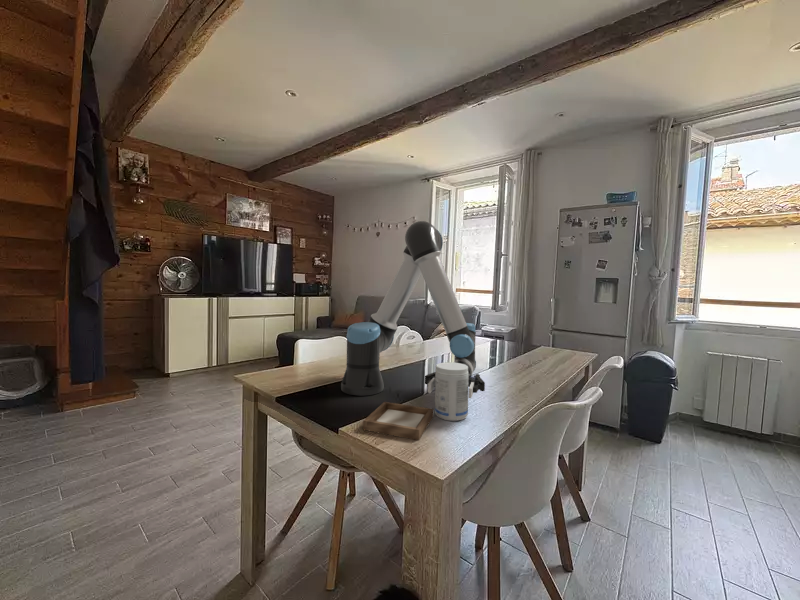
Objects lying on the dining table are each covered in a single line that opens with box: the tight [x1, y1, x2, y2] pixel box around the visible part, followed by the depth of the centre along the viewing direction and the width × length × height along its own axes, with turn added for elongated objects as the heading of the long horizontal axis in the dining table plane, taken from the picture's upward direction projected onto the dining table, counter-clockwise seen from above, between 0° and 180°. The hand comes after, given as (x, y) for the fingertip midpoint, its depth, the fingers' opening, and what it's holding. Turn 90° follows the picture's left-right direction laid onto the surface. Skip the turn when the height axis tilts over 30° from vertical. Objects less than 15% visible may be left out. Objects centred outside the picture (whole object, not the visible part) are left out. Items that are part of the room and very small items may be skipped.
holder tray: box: [362, 401, 434, 441], centre depth 90 cm, size 15×15×2 cm
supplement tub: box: [434, 361, 469, 422], centre depth 96 cm, size 10×10×15 cm
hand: (449, 390), depth 92 cm, fingers open, 11 cm apart
